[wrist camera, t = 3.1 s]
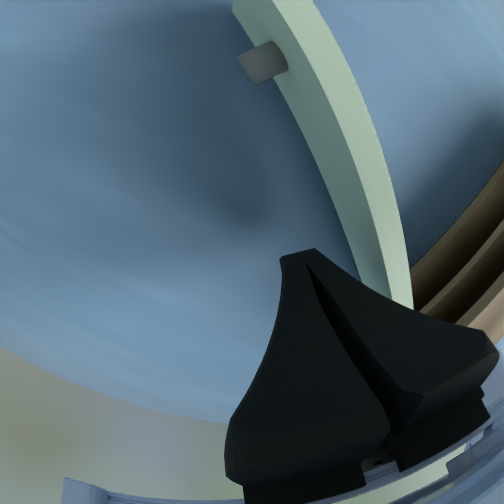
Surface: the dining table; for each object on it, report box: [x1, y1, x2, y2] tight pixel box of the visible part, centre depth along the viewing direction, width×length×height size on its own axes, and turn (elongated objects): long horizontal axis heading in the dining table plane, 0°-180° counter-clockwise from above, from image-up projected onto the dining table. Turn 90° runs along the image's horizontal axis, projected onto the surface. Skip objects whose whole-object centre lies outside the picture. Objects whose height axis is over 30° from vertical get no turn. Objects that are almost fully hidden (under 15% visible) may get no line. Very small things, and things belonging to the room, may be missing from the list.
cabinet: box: [409, 160, 504, 345], centre depth 11 cm, size 7×16×5 cm, turn 138°
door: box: [231, 0, 414, 310], centre depth 9 cm, size 2×15×4 cm, turn 28°
